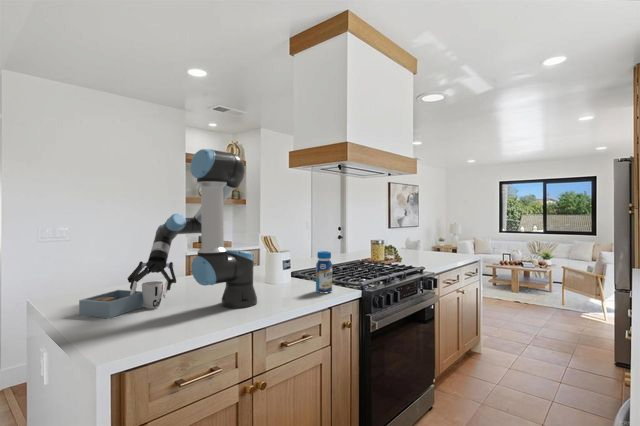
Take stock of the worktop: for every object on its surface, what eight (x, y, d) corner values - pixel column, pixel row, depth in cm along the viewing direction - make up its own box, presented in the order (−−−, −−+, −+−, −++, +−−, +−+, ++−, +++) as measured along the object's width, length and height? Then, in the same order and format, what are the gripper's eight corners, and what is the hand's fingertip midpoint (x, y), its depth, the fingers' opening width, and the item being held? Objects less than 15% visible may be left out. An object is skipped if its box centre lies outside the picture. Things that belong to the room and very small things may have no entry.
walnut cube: (114, 310, 143) (114, 297, 143) (104, 313, 138) (104, 300, 138) (104, 309, 144) (104, 296, 144) (93, 312, 139) (93, 299, 139)
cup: (154, 310, 146) (154, 285, 146) (137, 309, 148) (137, 284, 148) (167, 305, 154) (167, 281, 154) (150, 304, 156) (150, 280, 156)
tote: (145, 305, 153) (145, 291, 153) (109, 318, 135) (109, 302, 135) (118, 303, 157) (118, 289, 157) (79, 315, 138) (79, 300, 138)
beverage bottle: (321, 289, 187) (322, 250, 187) (335, 291, 182) (335, 251, 182) (312, 292, 180) (312, 252, 180) (326, 294, 175) (326, 253, 175)
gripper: (188, 259, 169) (180, 301, 154) (132, 258, 164) (118, 301, 150) (186, 249, 163) (177, 291, 148) (128, 248, 159) (113, 291, 144)
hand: (148, 296), depth 149 cm, fingers open, 12 cm apart
